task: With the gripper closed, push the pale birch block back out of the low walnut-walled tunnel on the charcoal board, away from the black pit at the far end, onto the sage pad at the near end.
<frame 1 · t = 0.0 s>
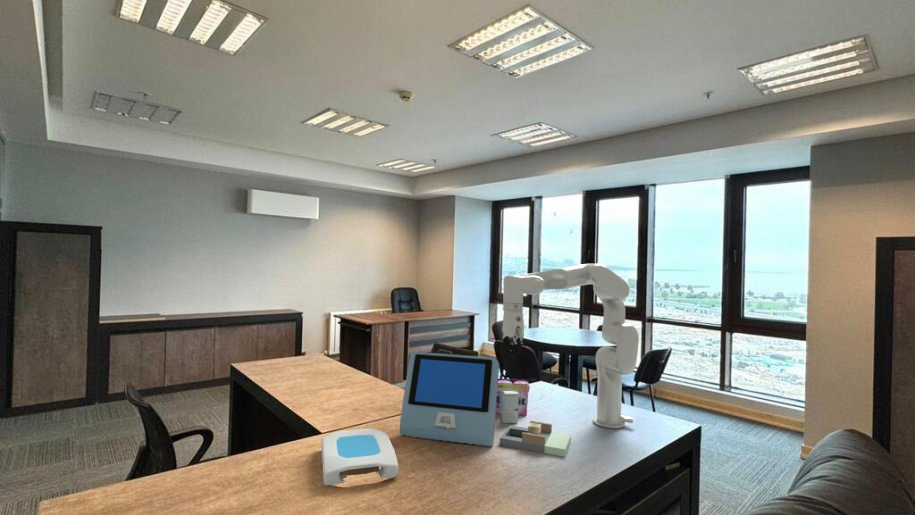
hand: (511, 351, 168), 31 cm above the table, tool pointing down, fingers open, 9 cm apart
skincare box: (509, 422, 180), on the table
birch block: (534, 436, 158), point 2 cm above the table, touching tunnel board
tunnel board: (535, 443, 158), on the table
white step stool: (357, 465, 138), on the table
touchscreen device: (450, 434, 165), on the table
gum box: (500, 411, 193), on the table
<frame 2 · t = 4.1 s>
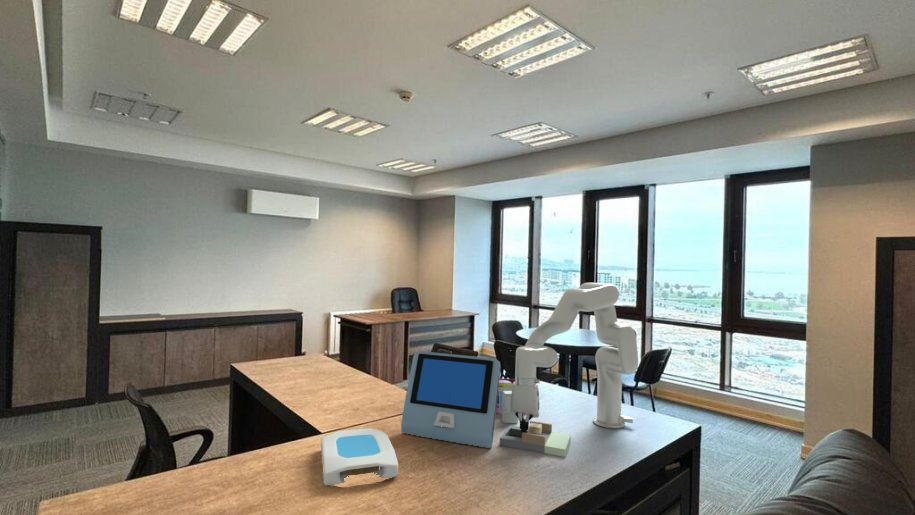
hand: (524, 431, 160), 4 cm above the table, tool pointing down, fingers closed
birch block: (535, 436, 158), point 3 cm above the table, touching gripper, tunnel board
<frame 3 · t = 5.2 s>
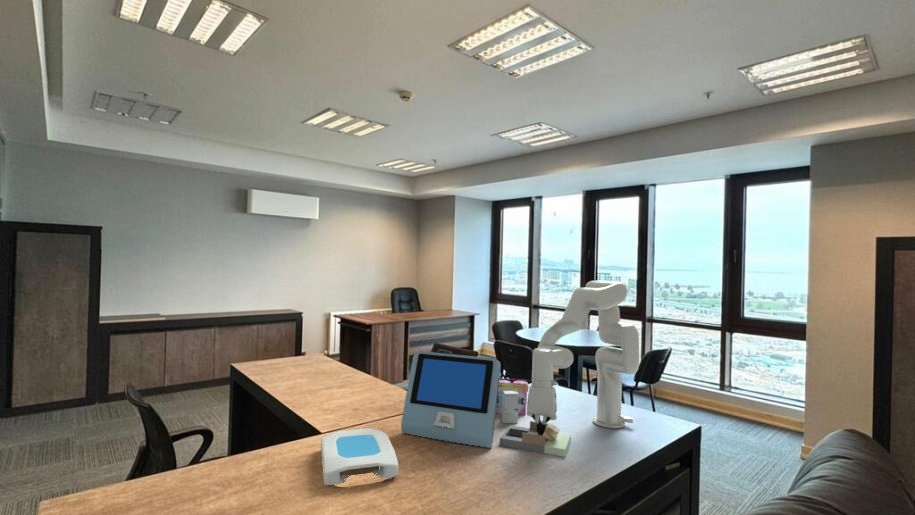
hand: (540, 433, 157), 4 cm above the table, tool pointing down, fingers closed
birch block: (549, 437, 156), point 3 cm above the table, tilted 19°, touching gripper
everything else where it was.
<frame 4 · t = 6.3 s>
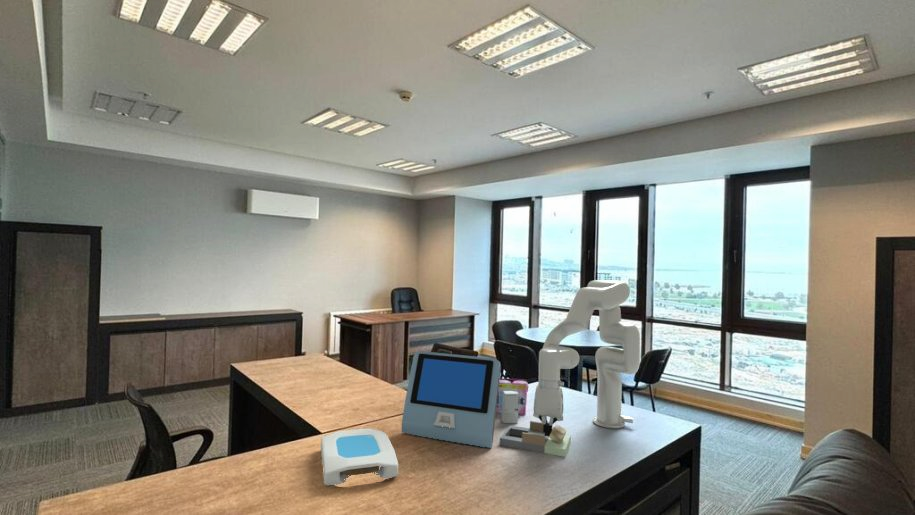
hand: (547, 435, 156), 4 cm above the table, tool pointing down, fingers closed
birch block: (556, 438, 155), point 3 cm above the table, tilted 20°, touching gripper, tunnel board
everything else where it was.
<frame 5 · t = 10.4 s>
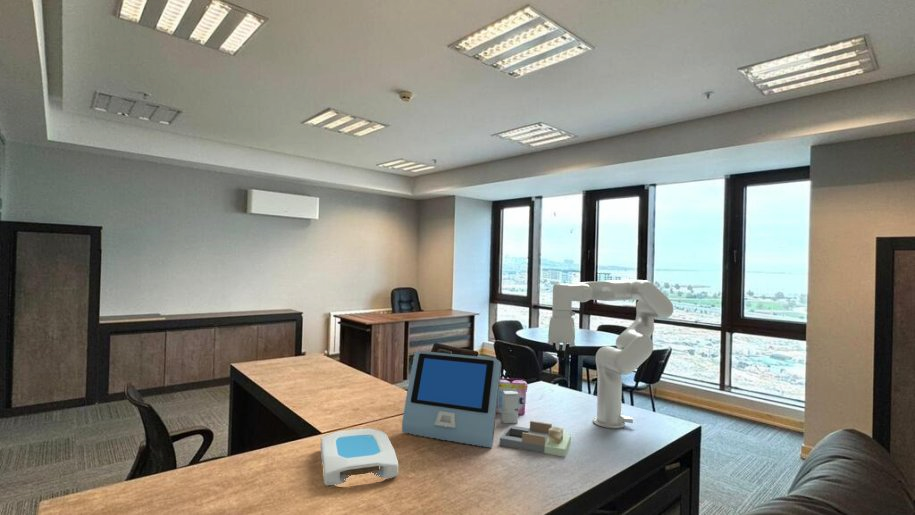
hand: (560, 359, 175), 27 cm above the table, tool pointing down, fingers closed
birch block: (555, 440, 155), point 2 cm above the table, touching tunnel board
at the end: birch block inside the target area (0.7 cm from its centre), point 2.5 cm above the table; birch block tilted 0° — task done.
